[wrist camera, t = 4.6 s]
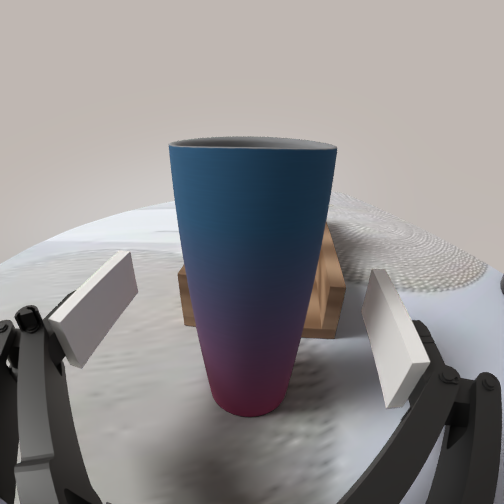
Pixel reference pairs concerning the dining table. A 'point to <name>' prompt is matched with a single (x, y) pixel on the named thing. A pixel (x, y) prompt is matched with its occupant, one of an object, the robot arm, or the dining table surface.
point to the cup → (251, 256)
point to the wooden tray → (321, 302)
